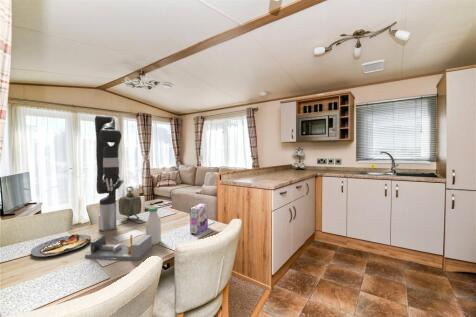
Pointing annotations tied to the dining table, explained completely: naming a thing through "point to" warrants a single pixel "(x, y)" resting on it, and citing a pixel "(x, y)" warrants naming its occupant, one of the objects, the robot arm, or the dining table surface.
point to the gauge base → (126, 250)
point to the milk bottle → (153, 226)
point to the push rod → (103, 245)
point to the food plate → (61, 245)
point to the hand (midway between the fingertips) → (111, 197)
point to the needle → (130, 245)
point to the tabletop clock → (130, 204)
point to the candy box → (198, 218)
